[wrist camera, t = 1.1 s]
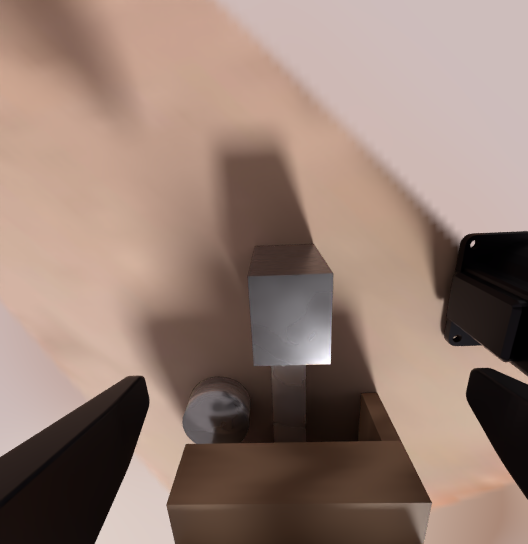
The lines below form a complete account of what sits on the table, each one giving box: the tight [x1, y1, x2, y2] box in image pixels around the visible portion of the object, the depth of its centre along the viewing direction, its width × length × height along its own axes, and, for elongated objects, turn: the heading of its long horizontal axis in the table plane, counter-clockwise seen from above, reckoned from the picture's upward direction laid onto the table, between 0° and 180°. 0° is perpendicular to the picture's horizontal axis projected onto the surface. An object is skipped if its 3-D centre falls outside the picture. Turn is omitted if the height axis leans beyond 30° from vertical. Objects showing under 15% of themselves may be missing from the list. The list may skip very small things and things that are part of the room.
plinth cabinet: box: [167, 393, 432, 544], centre depth 15 cm, size 12×6×10 cm, turn 93°
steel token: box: [182, 377, 251, 444], centre depth 18 cm, size 4×4×2 cm
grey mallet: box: [248, 244, 333, 443], centre depth 15 cm, size 3×12×5 cm, turn 3°
